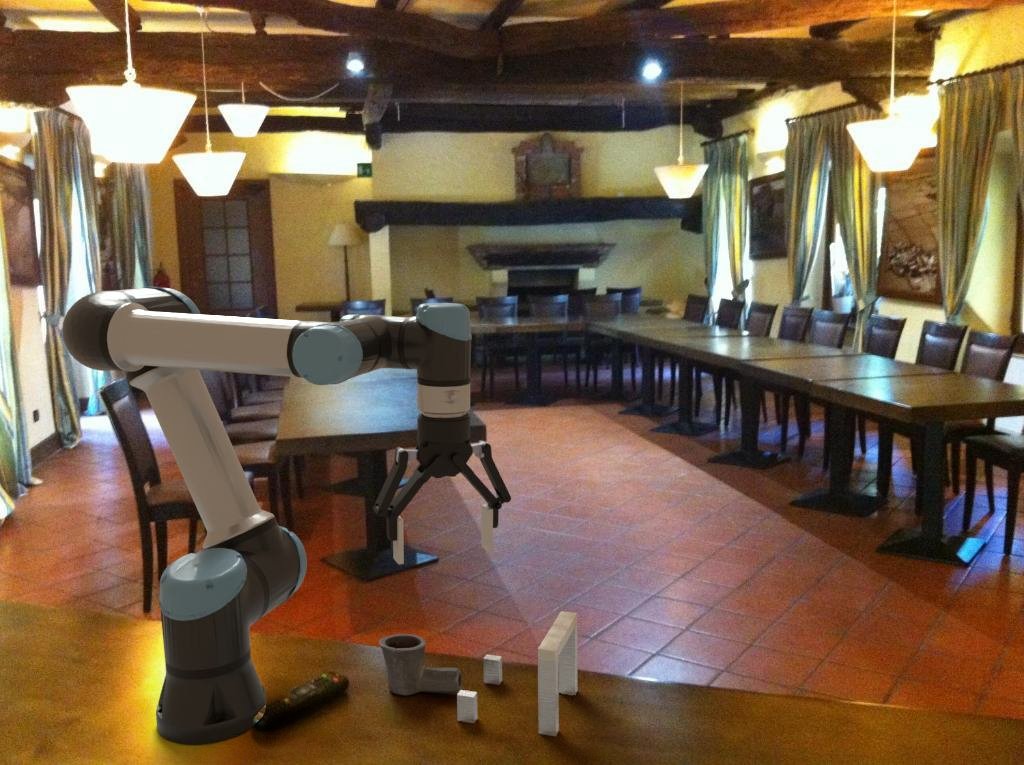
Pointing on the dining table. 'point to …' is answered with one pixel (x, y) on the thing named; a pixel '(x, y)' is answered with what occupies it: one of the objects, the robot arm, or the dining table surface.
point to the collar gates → (554, 644)
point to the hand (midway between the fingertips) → (443, 555)
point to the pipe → (415, 668)
